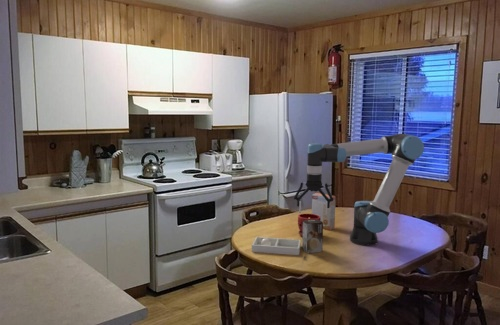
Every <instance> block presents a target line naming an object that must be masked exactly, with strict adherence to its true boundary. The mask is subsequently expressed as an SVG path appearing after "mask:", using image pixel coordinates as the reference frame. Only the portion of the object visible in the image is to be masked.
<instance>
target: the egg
mask: <svg viewBox="0 0 500 325" xmlns="http://www.w3.org/2000/svg"><path fill="white" fill-rule="evenodd" d="M267 238H268V237H266V238H264V239H262V241H261V245H265V246H270V244H271V242H270V240H269V239H267Z"/></svg>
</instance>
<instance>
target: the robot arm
mask: <svg viewBox="0 0 500 325" xmlns="http://www.w3.org/2000/svg"><path fill="white" fill-rule="evenodd" d="M424 149H425V144H424V142H423V140H422V139H421V138H419V137H418V136H416V135H412V134H406V133H396V134H391V135H384V136H381V138H378V139H377V138H375V139H368V140H367V139H366V140H359V141H358V140H357V141H350V142H342V143H333V144H332V143H331V144H329V143H325V144H322V143H320V142H319V143H315V142H313V143H309V144H308V146H307V162H306V163H307V165H306V172H307V174H306V182H305V181H301V182H300V184H299V187H298V189H297V191H296V192H295V195H294V197H293V199H294V200H296V201H297V202H296V206H297V208H299V210H298V213H299V214H302V199H303V197H304V196H305V195H306V194H308V192H309V191H310V192H315V193H321V194H322V196H323V197H324V198H325V199H326V215H327V208H329V207H330V202H331V201H333V197H332V196H333V195H332V193H331V191H330V189H329V187H328V182H325V183H323V182H322V179H323V178H322V177H323V176H322V172H323V163H344V162H345V161H346V159H347V157H354V156H363V155H373V154H379V153H383V154H384V155H388V154H391V158H392V161H391V163H390V164H389V167H388V168H387V171H386V173H385V176H384V177H383V180H382V182H381V184H380V186H379V188H378V190H377V193H376V194H375V197H374V199H373V200H357V201H355V203H354V208H353V210H354V211H353V227H352V231H351V233H350V234H349V235H350V236H349V241H350V242H351V243H353V244H355V245H360V246H374V245H377V244H376V243H378V239H379V238H378V235H377V234H379V233H382V232H384V231H385V230H386V229H387V228H388V226H389V223H390V221H389V216H390V214H391V210H390V206H391V205H392V202H393V200H394V198H395V196H396V194H397V192H398V190H399V187H400V185H401V183H402V181H403V179H404V176H406V173H407V171H408V168H409V167H410V166H412V165H414V163H415V162H416V160H417V159H419V158H420V157H422V155H423V154H424V151H425V150H424ZM305 186H306V188H305V190H304V191H303V192H302V193H301V190H302V189H303V187H305ZM322 187H323V188H325V191H326V195H329V197H330V199H329V198H328V197H327V196H326V195H325V192H324V191H323V190H322ZM300 193H301V194H300Z"/></svg>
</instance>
